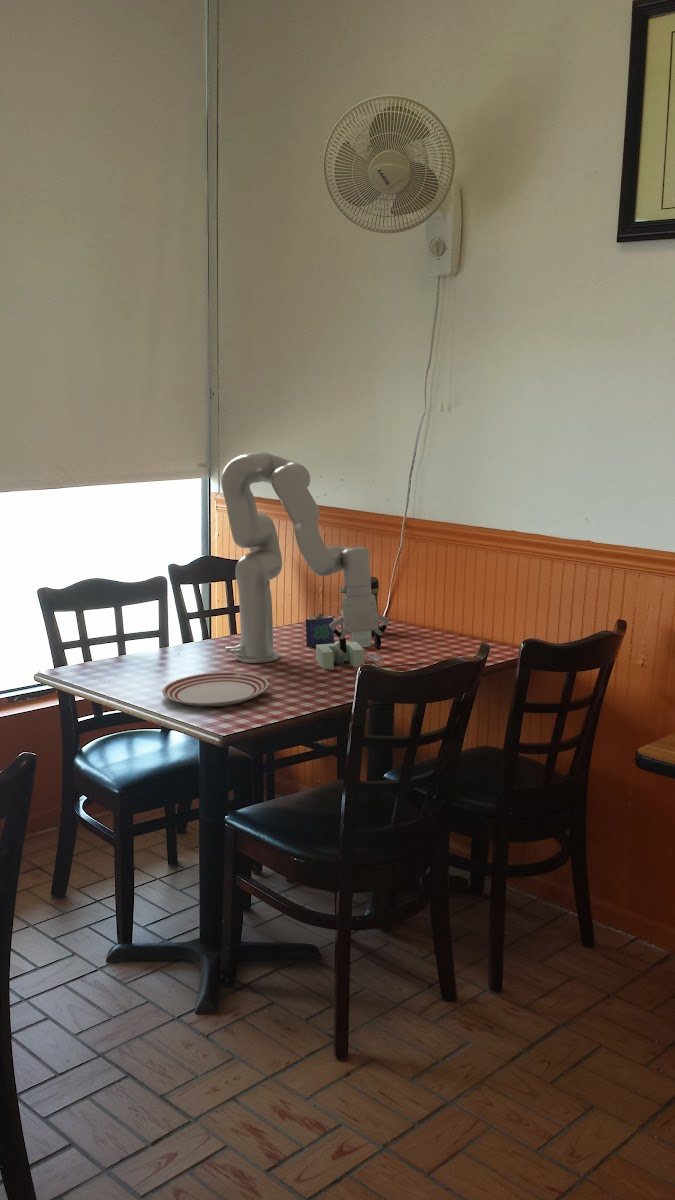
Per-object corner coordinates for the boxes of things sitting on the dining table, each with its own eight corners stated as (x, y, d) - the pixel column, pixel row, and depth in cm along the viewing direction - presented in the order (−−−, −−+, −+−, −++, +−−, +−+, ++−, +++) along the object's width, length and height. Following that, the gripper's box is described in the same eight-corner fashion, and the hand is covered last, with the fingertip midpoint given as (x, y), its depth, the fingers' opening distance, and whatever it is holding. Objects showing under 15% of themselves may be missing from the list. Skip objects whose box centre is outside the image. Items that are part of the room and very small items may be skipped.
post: (336, 665, 306) (336, 643, 305) (335, 663, 309) (334, 641, 308) (345, 664, 307) (344, 642, 306) (343, 662, 309) (342, 640, 308)
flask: (332, 643, 333) (331, 609, 331) (336, 645, 331) (335, 611, 328) (305, 646, 330) (304, 612, 327) (308, 648, 327) (307, 614, 325)
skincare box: (371, 644, 330) (371, 606, 328) (370, 647, 326) (370, 609, 324) (352, 644, 331) (351, 606, 329) (351, 647, 327) (350, 609, 325)
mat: (378, 667, 303) (378, 666, 303) (366, 655, 316) (366, 654, 316) (422, 664, 306) (422, 662, 306) (408, 652, 319) (408, 651, 319)
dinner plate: (213, 720, 259) (212, 706, 258) (140, 700, 276) (140, 688, 276) (290, 694, 279) (290, 682, 278) (218, 678, 297) (218, 666, 296)
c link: (316, 661, 311) (315, 644, 310) (356, 658, 314) (356, 641, 313) (323, 669, 302) (322, 652, 301) (364, 666, 304) (364, 649, 303)
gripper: (330, 595, 295) (333, 656, 299) (391, 590, 299) (393, 650, 302) (325, 591, 303) (328, 650, 306) (384, 586, 306) (386, 644, 309)
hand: (360, 650), depth 304 cm, fingers open, 9 cm apart
